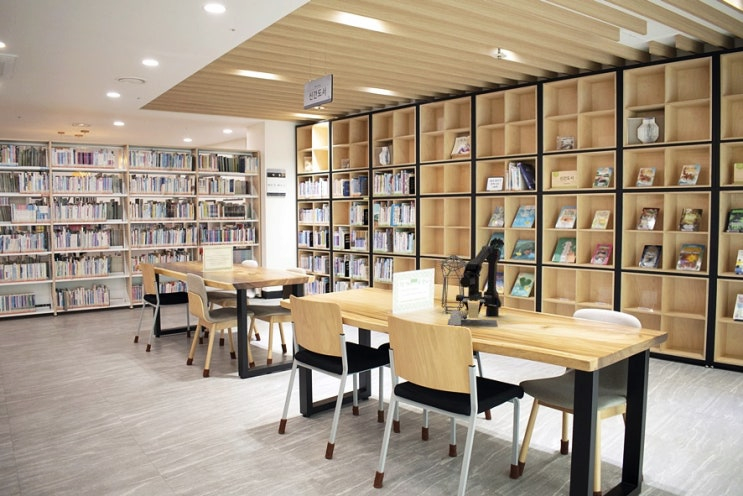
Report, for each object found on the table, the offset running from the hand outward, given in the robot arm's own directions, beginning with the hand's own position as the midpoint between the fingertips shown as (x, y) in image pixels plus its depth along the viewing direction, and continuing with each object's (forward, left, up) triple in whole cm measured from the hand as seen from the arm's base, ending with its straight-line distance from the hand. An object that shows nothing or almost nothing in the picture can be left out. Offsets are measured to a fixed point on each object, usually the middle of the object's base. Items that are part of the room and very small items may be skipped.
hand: (473, 314), depth 313 cm
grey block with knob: (+6, -5, -5) cm, 9 cm away
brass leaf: (+1, -1, -1) cm, 1 cm away
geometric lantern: (-11, -34, -6) cm, 36 cm away
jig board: (+1, 0, -6) cm, 6 cm away
